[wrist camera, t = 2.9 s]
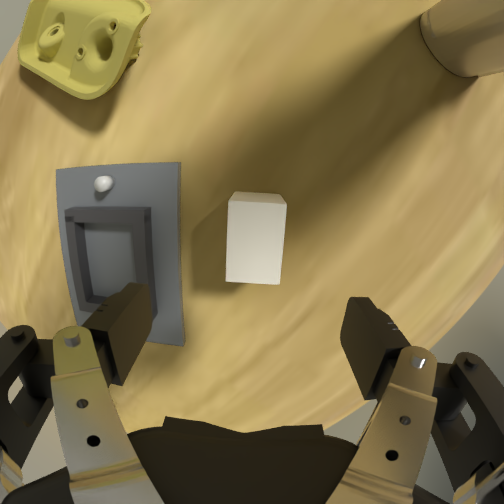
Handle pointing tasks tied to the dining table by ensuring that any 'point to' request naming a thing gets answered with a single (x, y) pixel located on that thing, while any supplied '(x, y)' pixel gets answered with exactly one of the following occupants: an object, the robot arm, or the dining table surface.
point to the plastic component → (81, 42)
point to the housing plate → (123, 238)
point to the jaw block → (255, 237)
